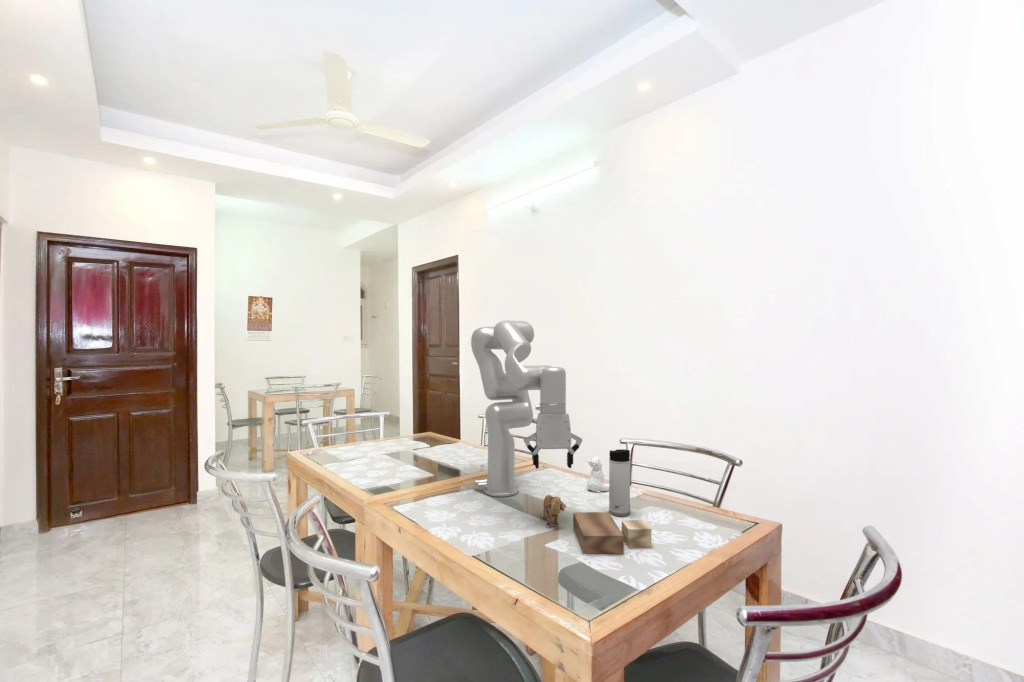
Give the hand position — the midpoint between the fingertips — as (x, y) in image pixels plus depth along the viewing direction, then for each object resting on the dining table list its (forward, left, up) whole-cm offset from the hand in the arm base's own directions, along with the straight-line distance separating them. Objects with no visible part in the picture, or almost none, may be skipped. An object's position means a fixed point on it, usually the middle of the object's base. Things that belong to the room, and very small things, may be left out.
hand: (553, 467), depth 134 cm
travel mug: (+22, +6, -16) cm, 28 cm away
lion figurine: (0, +1, -17) cm, 17 cm away
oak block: (+20, -15, -16) cm, 30 cm away
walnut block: (+10, -13, -17) cm, 23 cm away
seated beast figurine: (+21, +29, -17) cm, 39 cm away
